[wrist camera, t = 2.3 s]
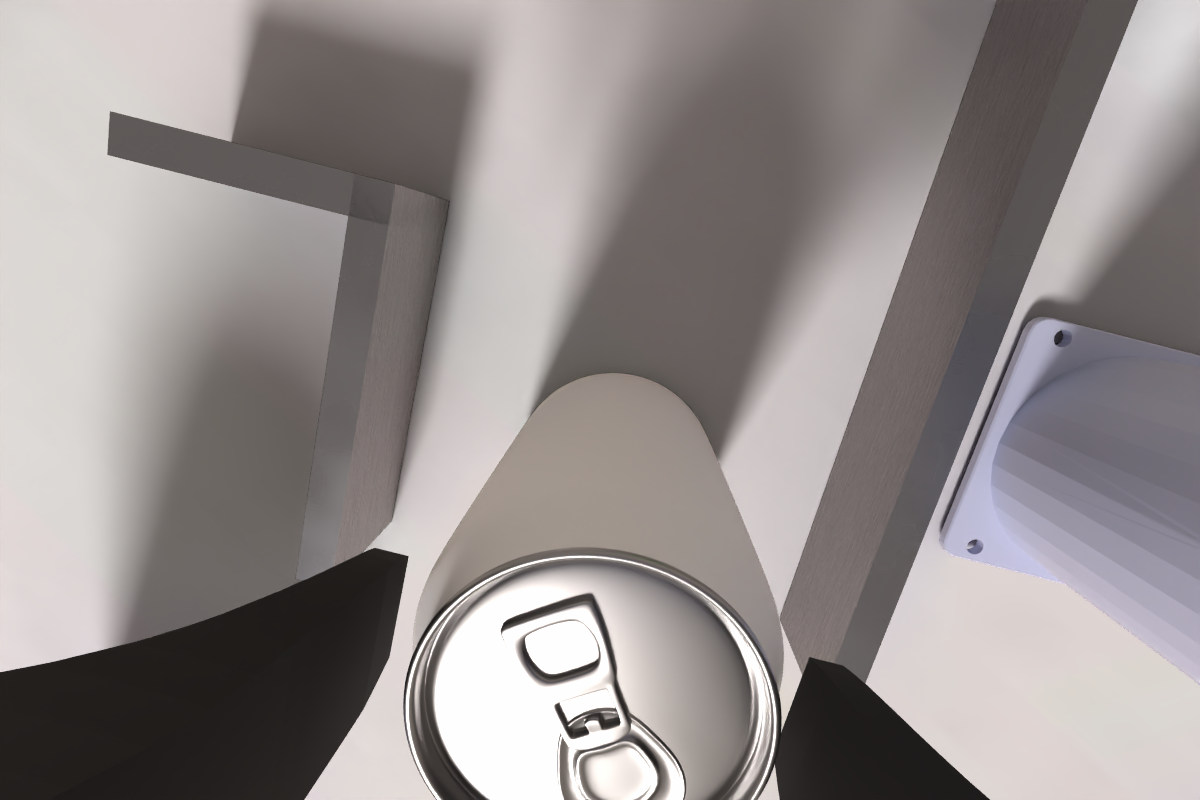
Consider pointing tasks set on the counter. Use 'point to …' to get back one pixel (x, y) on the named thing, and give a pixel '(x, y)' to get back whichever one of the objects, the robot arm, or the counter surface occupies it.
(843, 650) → the rail channel
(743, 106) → the counter surface
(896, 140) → the counter surface
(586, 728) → the can
